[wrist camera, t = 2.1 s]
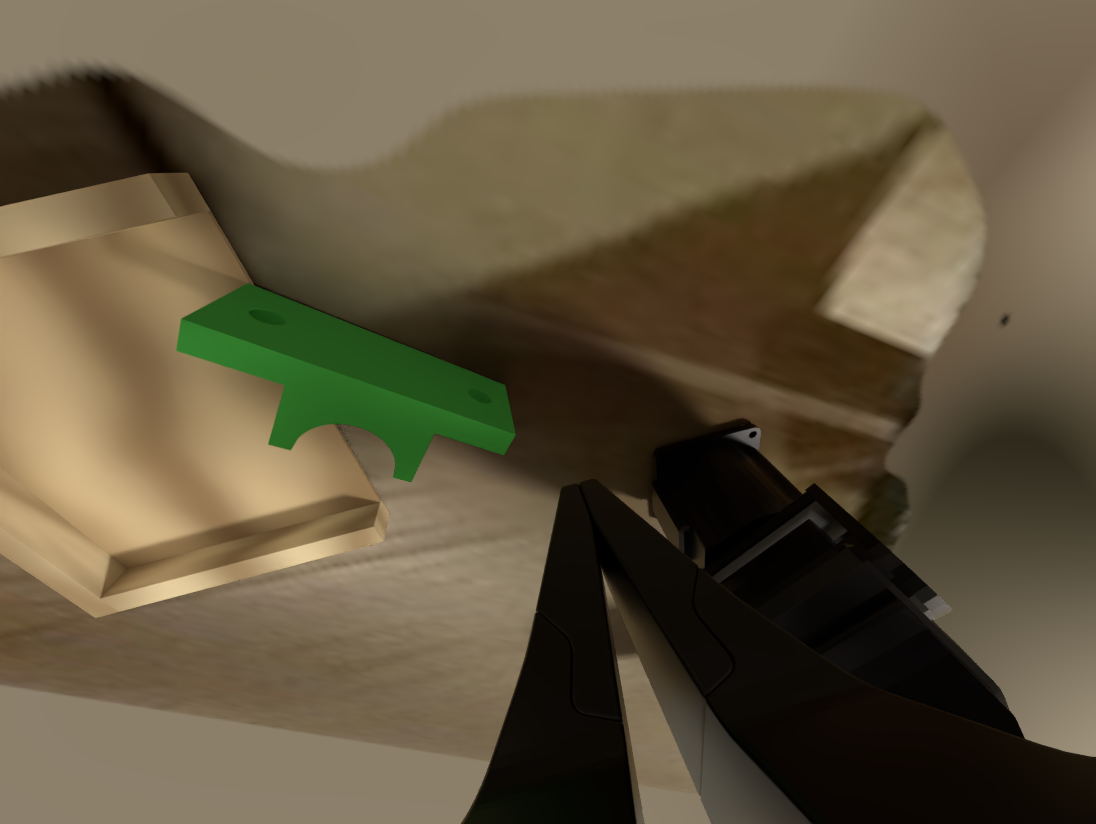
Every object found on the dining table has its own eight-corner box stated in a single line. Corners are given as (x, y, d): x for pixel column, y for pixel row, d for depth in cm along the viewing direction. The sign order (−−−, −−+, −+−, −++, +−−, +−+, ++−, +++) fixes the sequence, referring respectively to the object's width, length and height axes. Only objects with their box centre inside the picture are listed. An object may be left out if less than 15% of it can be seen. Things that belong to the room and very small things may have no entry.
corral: (188, 173, 14) (148, 173, 12) (389, 514, 23) (383, 541, 21) (-275, 276, 13) (-384, 292, 11) (123, 584, 22) (95, 618, 21)
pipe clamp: (232, 362, 17) (163, 417, 13) (249, 281, 16) (178, 317, 12) (475, 442, 21) (478, 502, 17) (506, 385, 20) (516, 436, 16)
